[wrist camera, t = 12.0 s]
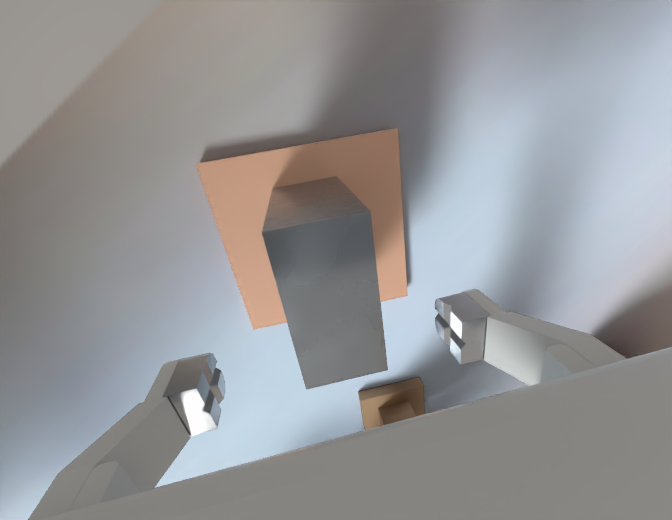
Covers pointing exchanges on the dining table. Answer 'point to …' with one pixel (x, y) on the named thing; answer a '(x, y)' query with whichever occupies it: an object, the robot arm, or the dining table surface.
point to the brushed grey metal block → (326, 279)
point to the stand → (392, 403)
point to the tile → (297, 167)
